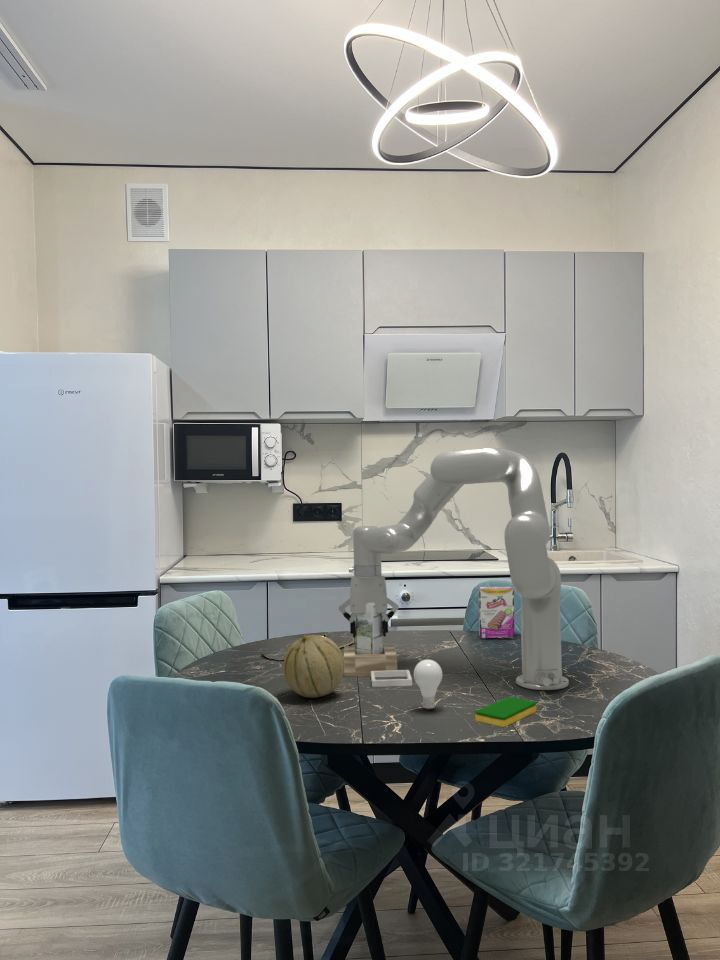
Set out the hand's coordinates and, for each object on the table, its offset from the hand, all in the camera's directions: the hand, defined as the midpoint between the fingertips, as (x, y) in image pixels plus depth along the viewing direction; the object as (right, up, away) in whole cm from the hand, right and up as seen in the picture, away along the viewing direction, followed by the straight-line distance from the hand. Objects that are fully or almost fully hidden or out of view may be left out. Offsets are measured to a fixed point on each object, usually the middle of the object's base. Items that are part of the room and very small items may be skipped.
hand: (369, 635), depth 203 cm
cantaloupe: (-13, -9, -25) cm, 30 cm away
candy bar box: (+42, -9, +37) cm, 56 cm away
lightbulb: (+13, -9, -38) cm, 41 cm away
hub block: (0, -9, 0) cm, 9 cm away
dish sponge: (+29, -9, -44) cm, 53 cm away
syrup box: (0, -5, 0) cm, 5 cm away
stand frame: (+5, -9, -13) cm, 17 cm away
